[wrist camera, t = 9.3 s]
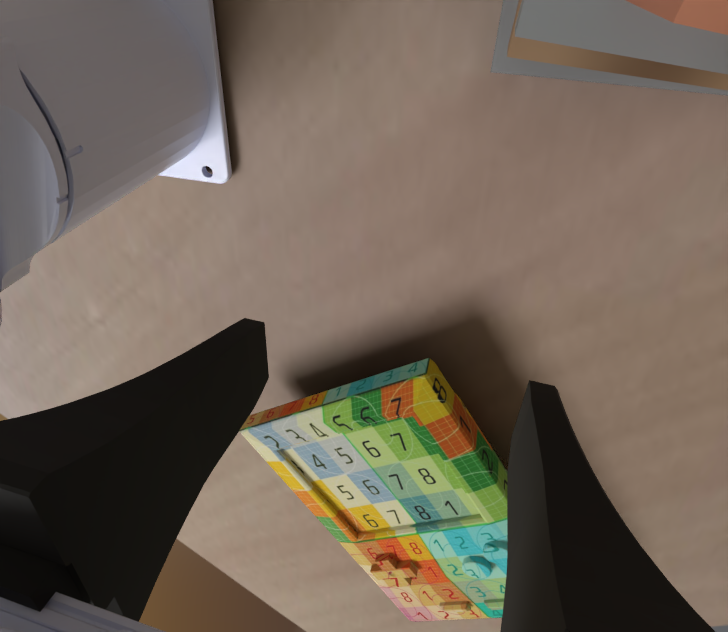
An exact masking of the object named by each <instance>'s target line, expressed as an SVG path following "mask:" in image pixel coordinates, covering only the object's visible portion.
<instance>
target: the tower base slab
mask: <svg viewBox="0 0 728 632" xmlns="http://www.w3.org/2000/svg"><path fill="white" fill-rule="evenodd" d="M518 2H519V0H503V5H502V11H501V16H500V22H499V28H498V33H497V39H496V44H495V50H494V56H493V61H492V67H491V72H495V73H505V74H515V75H525V76H535V77H545V78H556V79H566V80H576V81H586V82H596V83H606V84H617V85H627V86H637V87H647V88H657V89H667V90H677V91H688V92H698V93H708V94H718V95H728V90H721V89H714V88H708V87H701V86H695V85H688V84H682V83H675V82H669V81H662V80H655V79H649V78H642V77H636V76H629V75H623V74H616V73H609V72H603V71H596V70H590V69H583V68H577V67H570V66H564V65H557V64H550V63H544V62H537V61H531V60H524V59H518V58H511V57H507V50H508V43H509V39H510V35H511V31H512V27H513V23H514V18H515V14H516V10H517V6H518Z"/></svg>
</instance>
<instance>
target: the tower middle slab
mask: <svg viewBox="0 0 728 632" xmlns="http://www.w3.org/2000/svg"><path fill="white" fill-rule="evenodd" d="M521 2H522V0H519V2H518V6H517V10H516V14H515V18H514V23H513V27H512V31H511V35H510V39H509V43H508V50H507V57H511V58H518V59H524V60H531V61H537V62H544V63H550V64H557V65H564V66H570V67H577V68H583V69H590V70H596V71H603V72H609V73H616V74H623V75H629V76H636V77H642V78H649V79H655V80H662V81H669V82H675V83H682V84H688V85H695V86H701V87H708V88H714V89H721V90H728V74H722V73H717V72H711V71H706V70H700V69H694V68H689V67H683V66H677V65H672V64H666V63H661V62H655V61H649V60H644V59H638V58H633V57H627V56H621V55H616V54H610V53H605V52H599V51H593V50H588V49H582V48H577V47H571V46H565V45H560V44H554V43H549V42H543V41H537V40H532V39H526V38H520V37H515V24H516V20H517V17H518V13H519V9H520V5H521Z"/></svg>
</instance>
